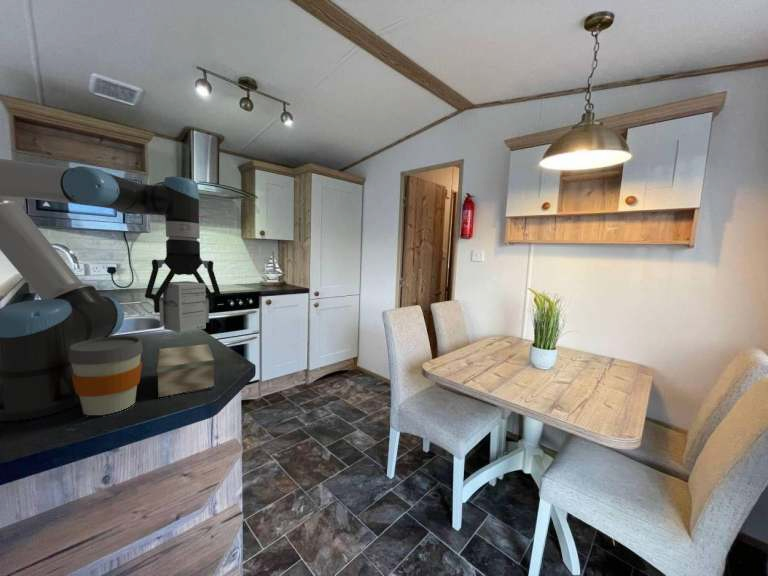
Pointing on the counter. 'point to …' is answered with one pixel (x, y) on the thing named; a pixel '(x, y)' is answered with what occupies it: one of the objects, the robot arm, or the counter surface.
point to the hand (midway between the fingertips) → (185, 323)
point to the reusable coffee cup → (106, 373)
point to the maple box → (184, 369)
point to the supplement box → (184, 306)
